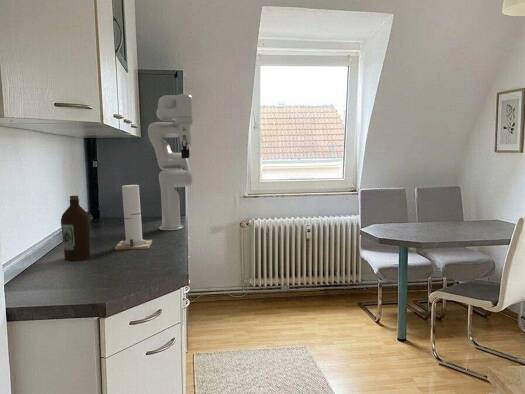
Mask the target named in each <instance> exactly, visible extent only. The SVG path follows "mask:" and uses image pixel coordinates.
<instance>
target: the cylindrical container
mask: <svg viewBox="0 0 525 394" xmlns="http://www.w3.org/2000/svg"><path fill="white" fill-rule="evenodd" d="M121 191H122V204H123V205H122V206H123V217H124V221H123V222H124V234H125V241H126V243H130V239H133V243H138V242H142V241H143V240H144V239H143V231H142V229H143V227H142V215H141V212H142V211H141V210H142V209H141V200H140V184H126V185H121Z"/></svg>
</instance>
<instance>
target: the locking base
mask: <svg viewBox="0 0 525 394" xmlns="http://www.w3.org/2000/svg"><path fill="white" fill-rule="evenodd" d="M142 240H143V241H142V242H138V243H133V239H130V243H126V240H120V241H119V242H118V243H117V244H116V246H114V250H117V251H119V250H144V249H146V250H148V249H149V248H150V246H151V245H152V243H153V239H142Z"/></svg>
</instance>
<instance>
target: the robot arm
mask: <svg viewBox="0 0 525 394" xmlns="http://www.w3.org/2000/svg"><path fill="white" fill-rule="evenodd" d="M157 101H158V102H157V109H156V112H155V113H156V117H157V118H158V119H159V120H161V121H155V122H151V123H150V124H149V125H148V128H147V134H148V135H147V136H148V139H149V141H150V143H151V146H152V148H153V149H154V153H155V157H156V160H157V165H158V168H159V169H160V172H159V174H158V182H159V186H160V193H161V194H160V198H161V199H160V200H161V223H162V224H161V225H160V226H159V230H161V231H179V230H182V229H184V225H183V224H181V203H180V202H181V201H180V199H181V198H180V195H179V194H180V193H179V192H178V191H177V190H176V188H182V187H190V186H191V185H192V183H193V174H192V170H191V166H190V163H189V160H188V159H189V158H190V146H191V145H192V126H191V125H193V124H194V123H193V119H194V117H193V97H192V95H191V94H188V93H180V94H177V95H175V94H171V95H170V94H168V95H167V94H166V95H162V96H161V97H159V98H158V100H157ZM165 138H167V139H168V138H173V139H174V138H179V143H180V146H181V150H180V152H173V151H172V148H171V145H170V144H169V142H167V141H166V140H165Z"/></svg>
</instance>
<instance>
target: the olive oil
mask: <svg viewBox="0 0 525 394" xmlns="http://www.w3.org/2000/svg"><path fill="white" fill-rule="evenodd" d="M60 218H61V219H60V226H61V235H62V243H63V244H62V245H63V251H64V252H63V253H64V255H63V256H64V260H65V259H66V261H68V260H72V261H73V260H74V262H77V261H76V260H78V261H85V260H87V259H90V258H91V248H90V247H91V238H90V237H91V236H90V235H91V232H90V231H91V222H90V221H91V220H90V215H89V214H88V212H87V211H86V210H85V209H84V208H83V207H82V206H81V205H80V199H79V195H70V196H69V206H68V207H67V209H66V210H65V211H64V212H63V214H62V215H61V217H60ZM72 261H71V262H72Z"/></svg>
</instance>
